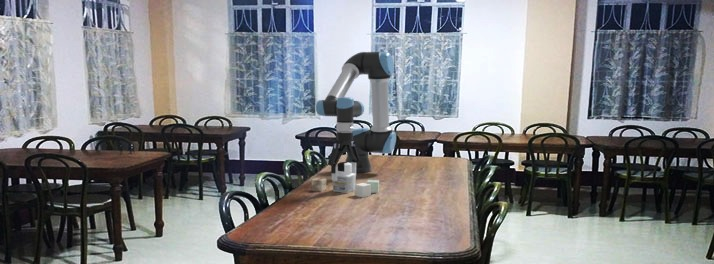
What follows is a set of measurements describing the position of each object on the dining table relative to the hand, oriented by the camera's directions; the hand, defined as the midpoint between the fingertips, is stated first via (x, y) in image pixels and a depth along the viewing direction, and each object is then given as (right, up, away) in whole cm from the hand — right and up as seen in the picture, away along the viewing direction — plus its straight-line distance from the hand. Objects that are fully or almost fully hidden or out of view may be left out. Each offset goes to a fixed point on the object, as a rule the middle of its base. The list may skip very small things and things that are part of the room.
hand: (344, 178), depth 237 cm
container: (0, -6, +1) cm, 6 cm away
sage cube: (+13, -6, 0) cm, 14 cm away
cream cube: (+8, -7, -8) cm, 13 cm away
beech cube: (-12, -5, +2) cm, 13 cm away
